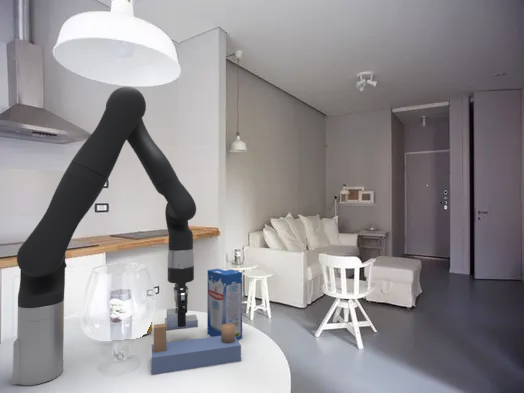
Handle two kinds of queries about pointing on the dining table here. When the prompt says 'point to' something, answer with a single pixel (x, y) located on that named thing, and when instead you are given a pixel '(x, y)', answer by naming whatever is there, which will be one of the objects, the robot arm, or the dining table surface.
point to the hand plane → (193, 350)
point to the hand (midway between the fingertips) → (180, 322)
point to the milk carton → (224, 301)
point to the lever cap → (173, 320)
